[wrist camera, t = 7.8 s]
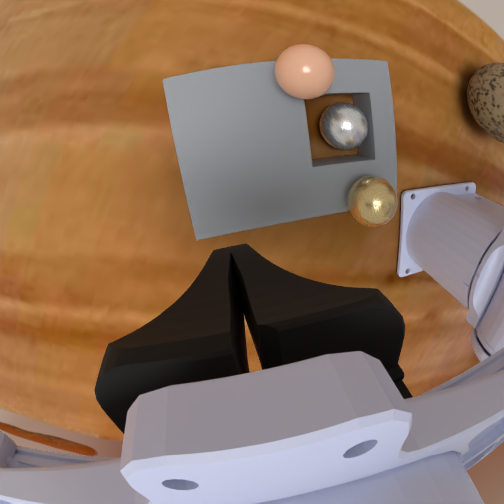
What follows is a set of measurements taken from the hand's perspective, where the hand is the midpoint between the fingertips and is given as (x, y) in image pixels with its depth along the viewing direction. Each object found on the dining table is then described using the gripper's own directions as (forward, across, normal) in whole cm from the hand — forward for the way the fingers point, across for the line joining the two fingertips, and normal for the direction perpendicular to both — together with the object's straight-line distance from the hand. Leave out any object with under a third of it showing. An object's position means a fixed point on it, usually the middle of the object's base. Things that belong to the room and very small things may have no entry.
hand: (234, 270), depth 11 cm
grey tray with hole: (+10, -5, -4) cm, 12 cm away
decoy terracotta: (+6, -6, -8) cm, 11 cm away
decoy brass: (+6, -9, 0) cm, 11 cm away
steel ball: (+8, -8, -4) cm, 13 cm away
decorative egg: (+10, -24, -6) cm, 27 cm away
